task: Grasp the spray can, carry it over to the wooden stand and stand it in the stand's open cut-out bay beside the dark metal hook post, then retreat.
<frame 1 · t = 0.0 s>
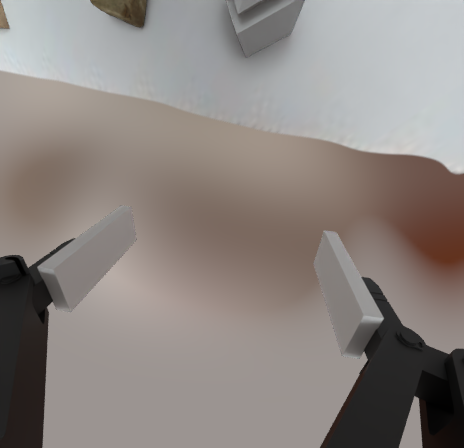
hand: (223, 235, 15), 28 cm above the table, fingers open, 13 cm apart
perfume bottle: (260, 18, 31), on the table
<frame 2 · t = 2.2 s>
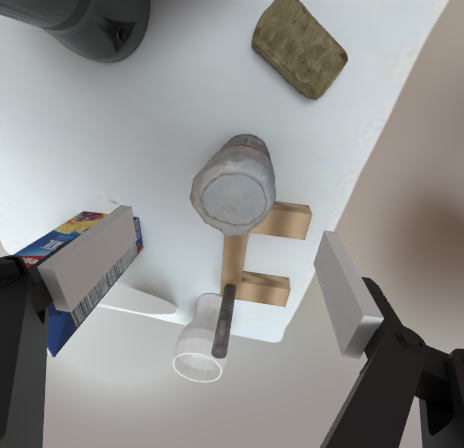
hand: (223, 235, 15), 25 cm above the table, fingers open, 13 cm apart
wooden stand: (260, 250, 45), on the table
cup: (213, 304, 55), on the table
stone block: (295, 54, 30), on the table
spray can: (245, 157, 37), on the table
juice carton: (115, 229, 48), on the table
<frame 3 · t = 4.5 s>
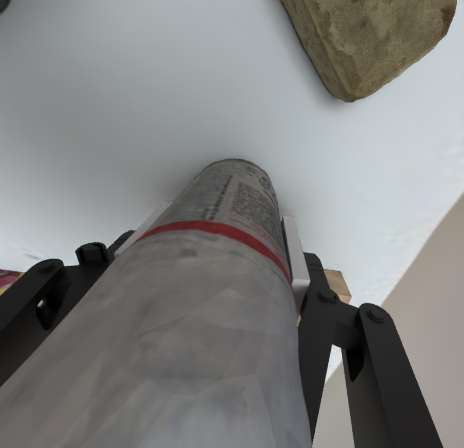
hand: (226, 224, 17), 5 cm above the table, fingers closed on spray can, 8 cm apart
wooden stand: (260, 327, 30), on the table
spray can: (234, 197, 21), on the table, touching gripper
juice carton: (44, 292, 32), on the table
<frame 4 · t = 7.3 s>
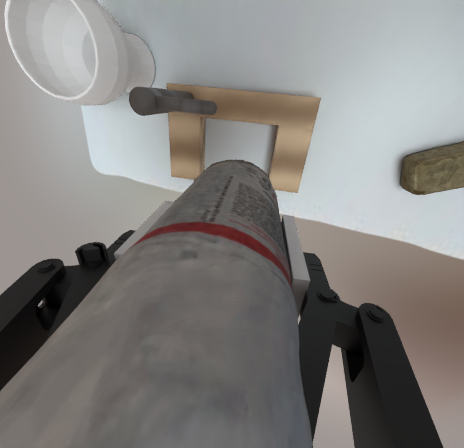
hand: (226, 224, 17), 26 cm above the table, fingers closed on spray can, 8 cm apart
wooden stand: (239, 138, 38), on the table
cup: (132, 65, 35), on the table
stone block: (437, 163, 36), on the table
spray can: (234, 197, 21), point 20 cm above the table, touching gripper
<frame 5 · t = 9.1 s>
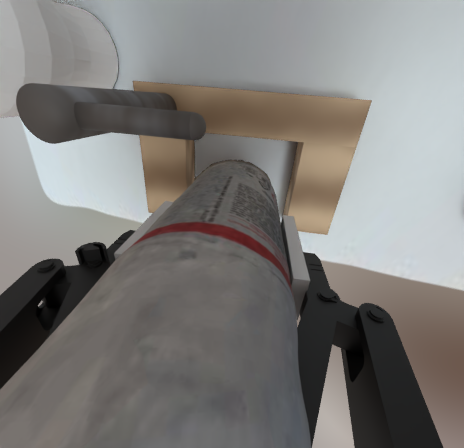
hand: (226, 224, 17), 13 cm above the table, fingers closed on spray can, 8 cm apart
wooden stand: (243, 158, 27), on the table
cup: (85, 56, 24), on the table
spray can: (234, 197, 21), point 8 cm above the table, touching gripper
when the fingers open (7 cm above the table, at t = 10.4 s): spray can drops 2 cm, on the table.
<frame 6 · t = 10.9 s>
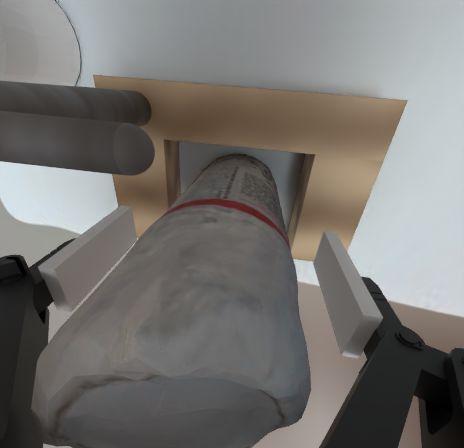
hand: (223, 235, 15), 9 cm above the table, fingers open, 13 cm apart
wooden stand: (238, 171, 22), on the table
cup: (39, 44, 19), on the table
spray can: (238, 190, 23), on the table
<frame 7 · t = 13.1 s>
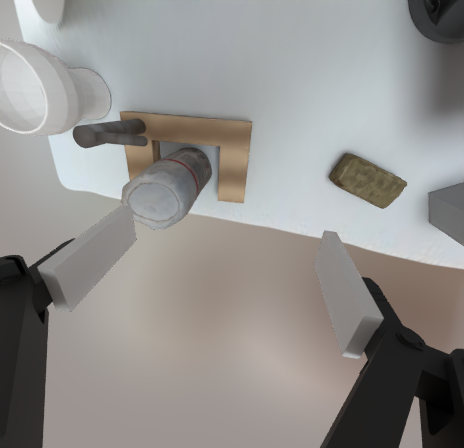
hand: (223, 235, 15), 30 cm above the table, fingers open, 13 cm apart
perfume bottle: (448, 202, 43), on the table
wooden stand: (190, 156, 43), on the table
cup: (90, 95, 40), on the table
stone block: (360, 176, 42), on the table
spray can: (191, 166, 44), on the table
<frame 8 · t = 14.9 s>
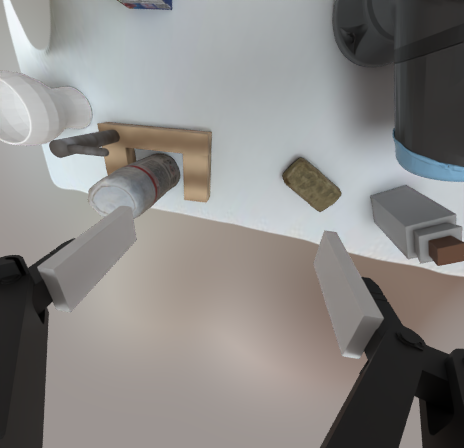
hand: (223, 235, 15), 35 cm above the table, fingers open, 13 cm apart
perfume bottle: (389, 204, 48), on the table
wooden stand: (161, 161, 49), on the table
cup: (74, 108, 47), on the table
stone block: (309, 181, 48), on the table
spray can: (163, 169, 51), on the table
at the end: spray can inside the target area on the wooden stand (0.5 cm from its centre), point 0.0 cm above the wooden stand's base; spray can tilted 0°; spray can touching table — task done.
